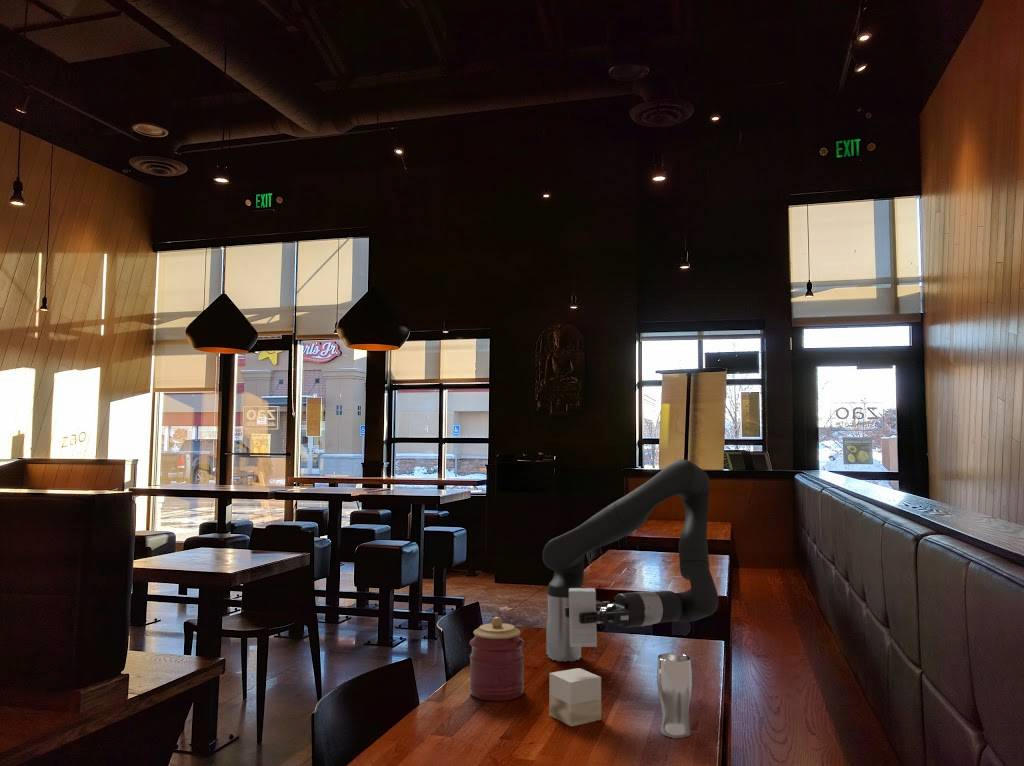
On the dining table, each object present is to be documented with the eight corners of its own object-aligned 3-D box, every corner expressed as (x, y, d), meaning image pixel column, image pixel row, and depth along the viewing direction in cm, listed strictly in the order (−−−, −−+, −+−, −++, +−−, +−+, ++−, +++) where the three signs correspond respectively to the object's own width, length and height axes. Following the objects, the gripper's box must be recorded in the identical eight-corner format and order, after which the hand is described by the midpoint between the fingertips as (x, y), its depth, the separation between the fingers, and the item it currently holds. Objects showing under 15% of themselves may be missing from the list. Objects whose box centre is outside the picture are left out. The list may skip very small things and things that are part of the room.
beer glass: (694, 729, 155) (693, 654, 156) (691, 741, 148) (689, 663, 150) (660, 725, 157) (659, 651, 159) (655, 737, 151) (654, 660, 152)
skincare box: (596, 642, 168) (595, 587, 169) (597, 647, 164) (596, 591, 165) (569, 642, 168) (568, 587, 169) (569, 647, 164) (568, 591, 165)
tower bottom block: (549, 716, 163) (549, 694, 164) (578, 709, 167) (578, 688, 168) (571, 727, 156) (571, 705, 157) (601, 720, 161) (601, 698, 161)
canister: (457, 693, 178) (458, 617, 179) (496, 681, 187) (496, 609, 189) (497, 706, 169) (497, 625, 171) (535, 692, 178) (535, 616, 180)
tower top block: (549, 694, 164) (549, 672, 164) (579, 688, 168) (579, 667, 168) (570, 704, 157) (570, 682, 157) (601, 698, 161) (601, 677, 161)
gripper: (621, 587, 179) (557, 592, 172) (655, 597, 166) (588, 604, 159) (621, 619, 178) (558, 625, 172) (655, 632, 165) (588, 640, 159)
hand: (572, 615), depth 166 cm, fingers closed on skincare box, 6 cm apart
